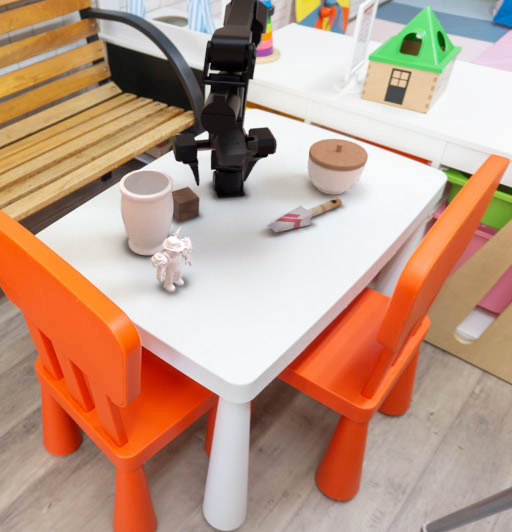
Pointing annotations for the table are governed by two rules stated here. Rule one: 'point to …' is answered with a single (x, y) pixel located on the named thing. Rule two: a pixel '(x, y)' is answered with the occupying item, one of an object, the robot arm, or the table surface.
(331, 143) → the lidded bowl
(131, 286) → the table surface
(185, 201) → the toy block
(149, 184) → the jar
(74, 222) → the table surface
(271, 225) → the garden trowel
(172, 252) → the pink action figure
